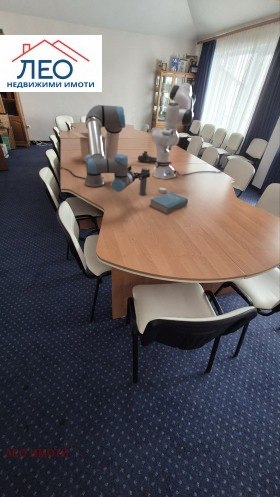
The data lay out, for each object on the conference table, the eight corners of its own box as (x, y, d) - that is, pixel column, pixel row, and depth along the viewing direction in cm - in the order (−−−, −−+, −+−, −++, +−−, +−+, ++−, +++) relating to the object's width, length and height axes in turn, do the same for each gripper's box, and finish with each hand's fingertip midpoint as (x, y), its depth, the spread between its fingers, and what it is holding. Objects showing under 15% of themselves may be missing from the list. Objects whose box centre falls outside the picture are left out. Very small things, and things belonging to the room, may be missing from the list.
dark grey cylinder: (138, 194, 172) (140, 169, 160) (140, 192, 176) (141, 167, 164) (144, 195, 171) (146, 170, 160) (146, 193, 175) (148, 168, 163)
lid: (166, 193, 178) (166, 190, 176) (159, 192, 178) (159, 189, 176) (166, 190, 182) (166, 187, 181) (158, 189, 183) (159, 187, 181)
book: (169, 197, 170) (170, 191, 167) (186, 205, 161) (188, 198, 158) (149, 205, 157) (150, 199, 154) (167, 214, 148) (168, 207, 145)
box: (116, 165, 229) (116, 136, 213) (83, 168, 214) (80, 137, 198) (102, 154, 259) (101, 128, 243) (71, 156, 244) (68, 129, 228)
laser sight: (156, 164, 241) (157, 154, 235) (136, 162, 244) (137, 152, 238) (158, 162, 249) (159, 152, 243) (138, 159, 252) (139, 150, 246)
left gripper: (109, 180, 143) (123, 171, 159) (145, 188, 137) (156, 178, 153) (109, 169, 139) (123, 161, 155) (146, 176, 132) (157, 167, 148)
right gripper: (170, 128, 163) (168, 148, 171) (161, 131, 148) (158, 153, 156) (178, 129, 161) (176, 149, 169) (169, 132, 146) (167, 154, 154)
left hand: (139, 169), depth 154 cm, fingers open, 13 cm apart
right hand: (167, 151), depth 163 cm, fingers open, 8 cm apart
